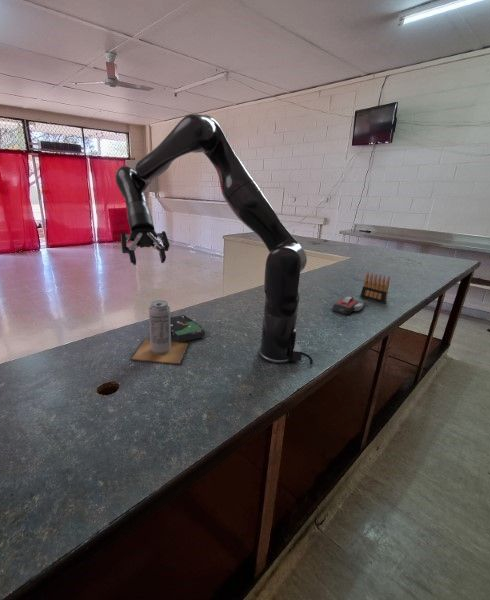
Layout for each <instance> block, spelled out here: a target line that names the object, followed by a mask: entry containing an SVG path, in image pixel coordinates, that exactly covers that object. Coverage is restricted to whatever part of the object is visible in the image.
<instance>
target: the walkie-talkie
mask: <svg viewBox="0 0 490 600" xmlns="http://www.w3.org/2000/svg"><path fill="white" fill-rule="evenodd" d="M368 302H369V299H365V300H364V301H362V302H359V301H358V300H357V299H354V297H352V296H348V295H347V296H346V297H342V298H341V299H339V300H338V301H336V302H335V303H333V307H332V311H334V312H338V313H341V314H344V315H345V314H346V315H349V314H351V313H352V312H359V311H361V310H362V309H364V305H365V304H367V303H368Z"/></svg>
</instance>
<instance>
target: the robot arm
mask: <svg viewBox="0 0 490 600" xmlns="http://www.w3.org/2000/svg"><path fill="white" fill-rule="evenodd" d="M190 153H194V154H199V153H200V154H201V153H202V154H203V155H205V156H206V157H207V159H208V160H209V161H210V163H211V164H212V166H213V167H214V169H215V171H216V172H217V176H218V182H219V185H220V191H221V195H222V197H223V199H224V200H225V202H226V203H227V205H228V207H229V208H230V209H231V212H232V213H233V214H234V215H235V216H236V218H237V219H238V220H239V221H240V222H242V224H243V225H245V226H246V227H247V228H248V229H250V231H252V232H253V233H254V234H255V235H256V236H257V237H258V238H259V239H260V240H261V241H262V243H263V244H264V246H265V247H266V249H267V251H268V252H269V253H268V255H267V257H266V260H265V265H264V266H265V267H264V268H265V269H264V279H263V280H264V282H263V290H264V291H263V292H264V295H265V299H264V306H263V307H264V308H263V317H262V318H263V320H262V330H261V338H260V348H259V356H260V357H261V358H262V359H263V360H265V361H267V362H268V363H273V364H285V363H292V362H293V361H299V362H301V361H302V356H304V357H306V358H307V359H308V360H309V364H310V365H313V364H314V361H313V358H312V356H311V355H309V354H308V353H306V352H303V351H302V346H301V344H298V343H297V344H296V337H297V329H296V326H297V320H298V319H297V318H298V312H299V304H300V297H301V296H300V292H299V285H300V277H301V273H302V272H303V270H304V269H305V268H306V266H307V263H308V262H307V260H308V259H307V253H306V251H305V249H304V247H302V245H301V244H300V243H299V242H298V240H297V239H296V238H295V237H294V236H293V235H292V234H291V232H290V231H289V230H288V229H287V228H286V226H285V225H284V224H283V223H282V221H281V220H280V218H279V217H278V215H277V213H276V212H275V210H274V208H273V206H272V205H271V203H270V202H269V201H268V199H267V198H266V196H265V194H264V192H263V191H262V190H261V188H260V187H259V185H258V184H257V182H256V181H255V179H254V178H253V177H252V175H251V174H250V173H249V171H248V170H247V168H246V167H245V165H244V164H243V162H242V161H241V160H240V158H239V157H238V156H237V154H236V153H235V151H234V149H233V148H232V146H231V144H230V142H229V140H228V139H227V137H226V134H225V133H224V131H223V129H222V127H221V125H220V124H219V122H218V121H217V120H216V119H215V118H214V117H212V116H210V115H207V114H200V113H199V114H197V113H191V114H187V115H185V116H184V117H183V118H182V119H180V121H179V122H177V124H176V125H175V127H174V128H173V129H172V130H171V131H170V132H169V134H167V135H166V137H165V138H164V139H163V140H162V141H161V142H160V143H159V144H158V145H157V146H156V147H155V148H154V149H152V150H151V151H150V152H148V153H147V154H145V155H144V156H143V157H141V158H140V159H139V160H138V161H137V162H136V164H135V167H134V168H132V167H131V166H129V165H122V166H120V167H118V168H117V170H116V172H115V183H116V186H117V189H118V190H119V192H120V194H121V196H122V198H123V199H124V203H125V208H126V217H127V218H126V219H127V222H128V226H129V232H130V234H126V233H125V232H121V233H120V243H121V252H122V254H128V256H129V257H128V258H129V262H130V264H132V265H133V266H136V265H137V258H136V253H135V251H137V249H138V248H141V249H142V248H151V247H152V248H153V249H154V250H156V251H157V252H159V253H158V255H159V260H160V264H164V263H165V262H166V259H167V255H166V252H168V251H169V249H170V246H171V245H170V242H169V239H168V236H167V233H166V231H165V230H163V231H161V232H156V229H155V225H154V221H153V215H152V212H151V208H150V206H149V203H148V198H147V195H146V191H147V189H148V188H149V186H150V185H151V183H152V182H153V180H155V179H157V178H158V177H160V176H161V175H163V174H165V172H166V171H167V170H168V169H169V168H170V166H171V165H172V163H173V162H174V161H175V160H176V159H178V158H180V157H182V156H185V155H187V154H190ZM129 240H130V241H131V245H130V246H128V245H127V242H128V241H129ZM160 241H161V242H160Z"/></svg>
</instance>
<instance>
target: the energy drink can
mask: <svg viewBox="0 0 490 600" xmlns="http://www.w3.org/2000/svg"><path fill="white" fill-rule="evenodd" d="M148 317H149V319H148V323H149V340H150V346H151V350H152V351H153V352H154V353H156V354H165V353H167V352H168V351H169V349H170V348H171V342H172V337H171V324H170V317H171V307H170V306H169V302H168V301H166V300H154V301H151V303H150V306H149V308H148Z"/></svg>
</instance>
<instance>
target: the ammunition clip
mask: <svg viewBox="0 0 490 600" xmlns="http://www.w3.org/2000/svg"><path fill="white" fill-rule="evenodd" d="M390 280H391V277H390V276H387V278H386V275H383V277H382V274H379V276H378V274H377V273H375V275H374V274H373V272H371V273H370V272H369V271H367V272H366V274H365V278H364V281H363V286H362V288H361V292H360V296H359V297H360V298H363V299H365V300H371V301H374V302H379V303H382V304H386V303H387V299H388V295H389V294H388V293H389V289H390V282H391V281H390Z"/></svg>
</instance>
